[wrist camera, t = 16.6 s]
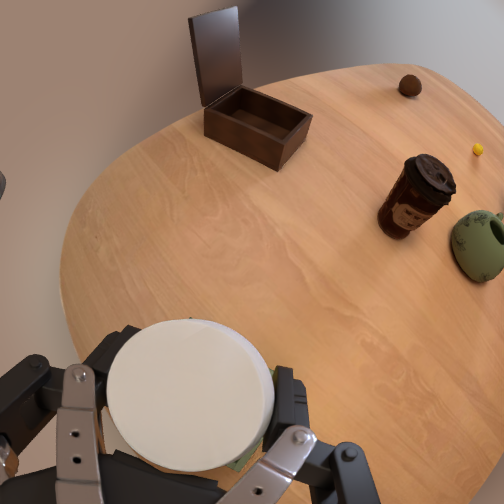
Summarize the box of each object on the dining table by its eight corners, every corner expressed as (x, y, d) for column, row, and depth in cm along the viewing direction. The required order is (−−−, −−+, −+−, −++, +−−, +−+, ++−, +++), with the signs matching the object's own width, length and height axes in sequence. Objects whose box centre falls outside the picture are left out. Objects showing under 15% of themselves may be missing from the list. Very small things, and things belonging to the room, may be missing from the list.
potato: (419, 95, 69) (428, 79, 62) (413, 104, 64) (423, 86, 58) (401, 83, 70) (409, 67, 64) (393, 90, 66) (402, 73, 60)
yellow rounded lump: (472, 153, 58) (475, 142, 56) (471, 150, 62) (473, 139, 60) (481, 158, 57) (485, 147, 55) (480, 154, 61) (483, 144, 58)
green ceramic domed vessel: (478, 300, 37) (512, 281, 30) (437, 246, 41) (467, 219, 33) (497, 252, 43) (524, 232, 35) (462, 207, 47) (486, 183, 39)
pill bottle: (201, 455, 15) (181, 532, 5) (137, 385, 17) (44, 370, 7) (272, 395, 18) (341, 399, 7) (207, 328, 19) (195, 251, 9)
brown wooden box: (305, 139, 48) (313, 115, 43) (277, 171, 44) (284, 145, 39) (238, 109, 51) (240, 84, 46) (203, 135, 46) (203, 109, 41)
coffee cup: (419, 248, 40) (468, 202, 29) (378, 246, 40) (426, 194, 28) (405, 204, 44) (444, 154, 33) (366, 199, 43) (402, 142, 32)
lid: (237, 6, 32) (232, 6, 32) (192, 17, 27) (187, 18, 28) (242, 83, 45) (238, 82, 45) (205, 107, 41) (201, 106, 41)
